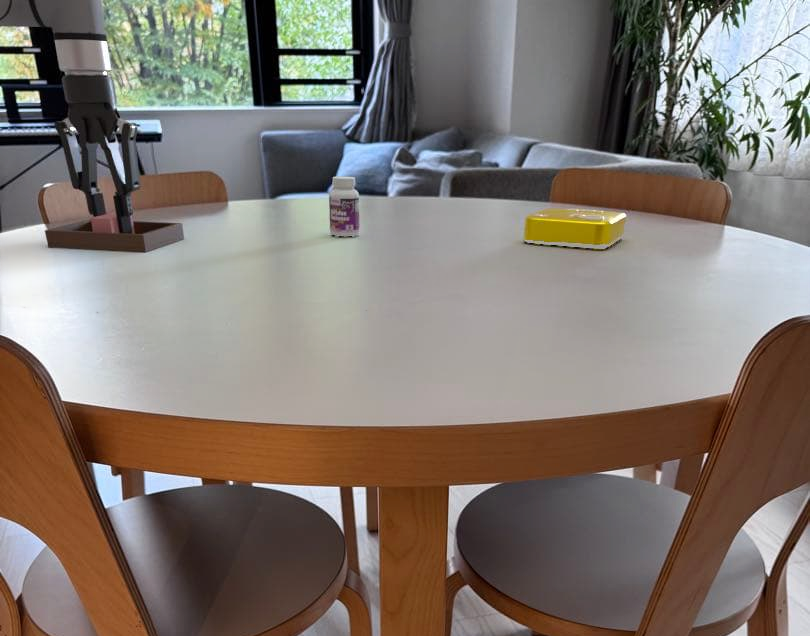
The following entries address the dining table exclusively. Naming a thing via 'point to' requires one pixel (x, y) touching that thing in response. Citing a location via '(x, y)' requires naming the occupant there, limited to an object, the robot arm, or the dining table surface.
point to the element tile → (574, 226)
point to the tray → (115, 237)
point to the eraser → (108, 223)
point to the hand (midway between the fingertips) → (114, 235)
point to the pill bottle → (344, 207)
